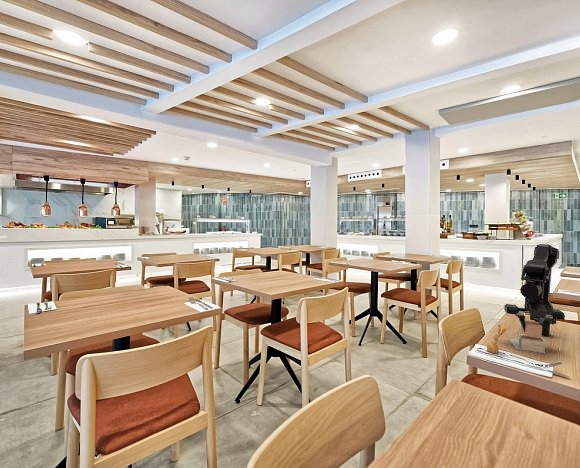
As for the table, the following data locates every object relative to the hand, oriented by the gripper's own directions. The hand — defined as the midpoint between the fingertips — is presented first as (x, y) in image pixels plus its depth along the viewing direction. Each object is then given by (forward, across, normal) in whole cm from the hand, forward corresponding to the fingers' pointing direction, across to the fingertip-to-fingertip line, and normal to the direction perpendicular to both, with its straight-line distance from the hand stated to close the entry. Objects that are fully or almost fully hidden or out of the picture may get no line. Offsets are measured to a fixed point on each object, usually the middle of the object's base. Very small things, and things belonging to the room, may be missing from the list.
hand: (531, 332), depth 128 cm
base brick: (+6, 0, 0) cm, 6 cm away
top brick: (+1, 0, 0) cm, 1 cm away
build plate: (+7, -1, +2) cm, 7 cm away
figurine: (+7, -14, -12) cm, 20 cm away
